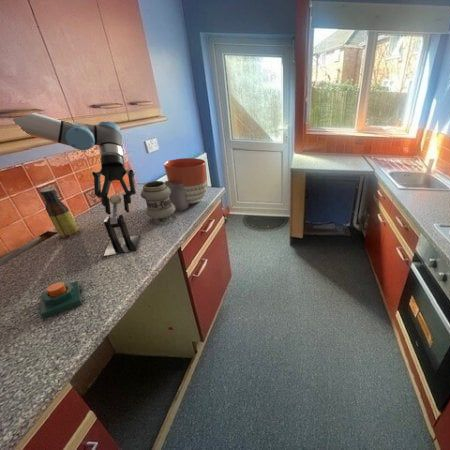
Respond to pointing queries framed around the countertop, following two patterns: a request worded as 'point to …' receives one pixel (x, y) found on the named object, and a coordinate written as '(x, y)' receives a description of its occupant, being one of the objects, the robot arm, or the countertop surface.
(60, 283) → the button
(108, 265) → the countertop surface
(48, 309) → the button housing
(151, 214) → the apothecary jar
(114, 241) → the bracket
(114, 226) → the lever
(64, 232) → the sauce bottle
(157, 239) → the countertop surface
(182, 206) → the pillar candle
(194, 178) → the planter
